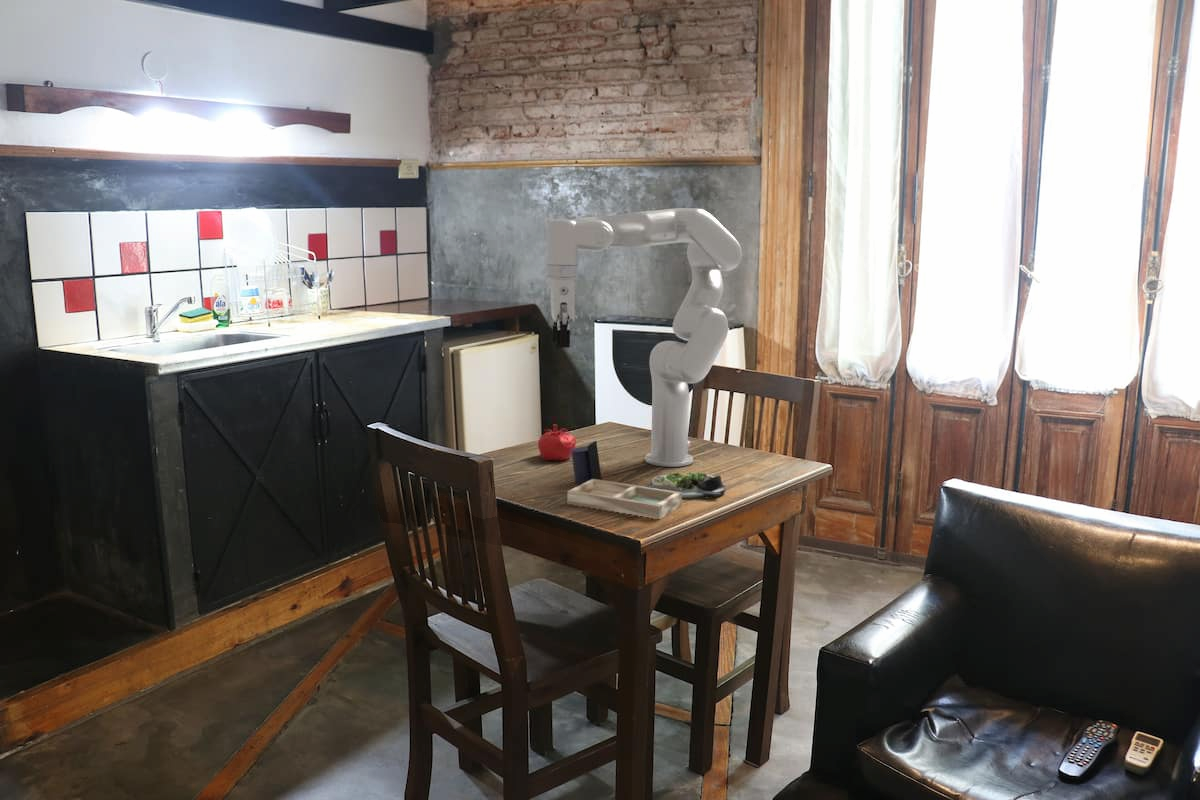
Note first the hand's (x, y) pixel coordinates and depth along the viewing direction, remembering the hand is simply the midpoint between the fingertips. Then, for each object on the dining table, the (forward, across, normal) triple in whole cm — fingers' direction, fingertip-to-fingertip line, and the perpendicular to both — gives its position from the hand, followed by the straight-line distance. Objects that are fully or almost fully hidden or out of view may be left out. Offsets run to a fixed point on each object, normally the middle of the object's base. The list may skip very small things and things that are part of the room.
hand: (560, 344), depth 237 cm
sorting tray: (+33, -23, -13) cm, 42 cm away
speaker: (+33, -5, -6) cm, 34 cm away
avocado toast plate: (+33, -13, -30) cm, 47 cm away
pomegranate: (+33, +19, -1) cm, 38 cm away
